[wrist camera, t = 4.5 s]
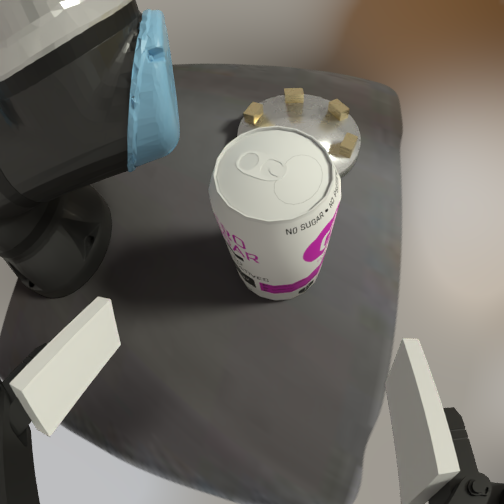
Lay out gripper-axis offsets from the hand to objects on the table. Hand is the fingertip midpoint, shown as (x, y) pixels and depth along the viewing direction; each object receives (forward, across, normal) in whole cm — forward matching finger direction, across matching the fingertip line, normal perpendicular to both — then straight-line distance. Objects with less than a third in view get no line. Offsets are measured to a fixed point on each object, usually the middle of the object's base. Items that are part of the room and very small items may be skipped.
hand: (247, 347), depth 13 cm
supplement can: (+19, 0, -4) cm, 19 cm away
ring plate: (+30, 0, +7) cm, 31 cm away
